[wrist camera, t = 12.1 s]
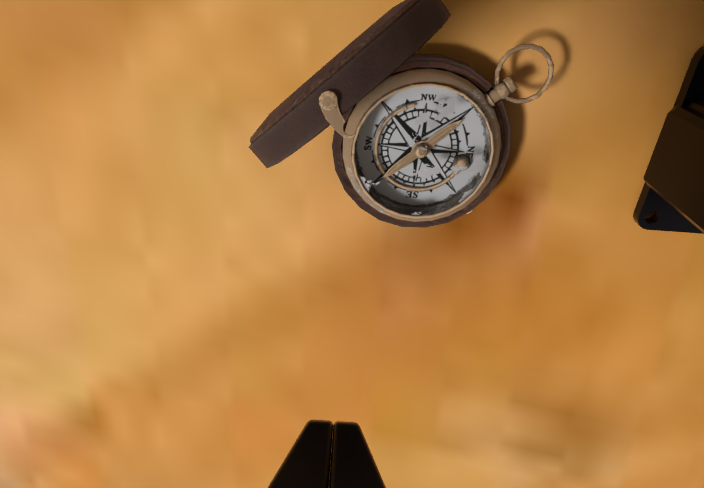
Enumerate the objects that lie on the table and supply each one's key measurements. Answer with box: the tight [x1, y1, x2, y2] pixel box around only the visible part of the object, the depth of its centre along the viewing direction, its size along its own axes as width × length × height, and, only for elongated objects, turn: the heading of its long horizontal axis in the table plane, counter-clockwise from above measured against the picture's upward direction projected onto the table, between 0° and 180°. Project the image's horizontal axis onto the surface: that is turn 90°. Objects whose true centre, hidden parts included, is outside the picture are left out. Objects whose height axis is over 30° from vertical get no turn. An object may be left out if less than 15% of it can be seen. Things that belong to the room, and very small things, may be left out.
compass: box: [249, 0, 554, 227], centre depth 15 cm, size 8×8×7 cm
